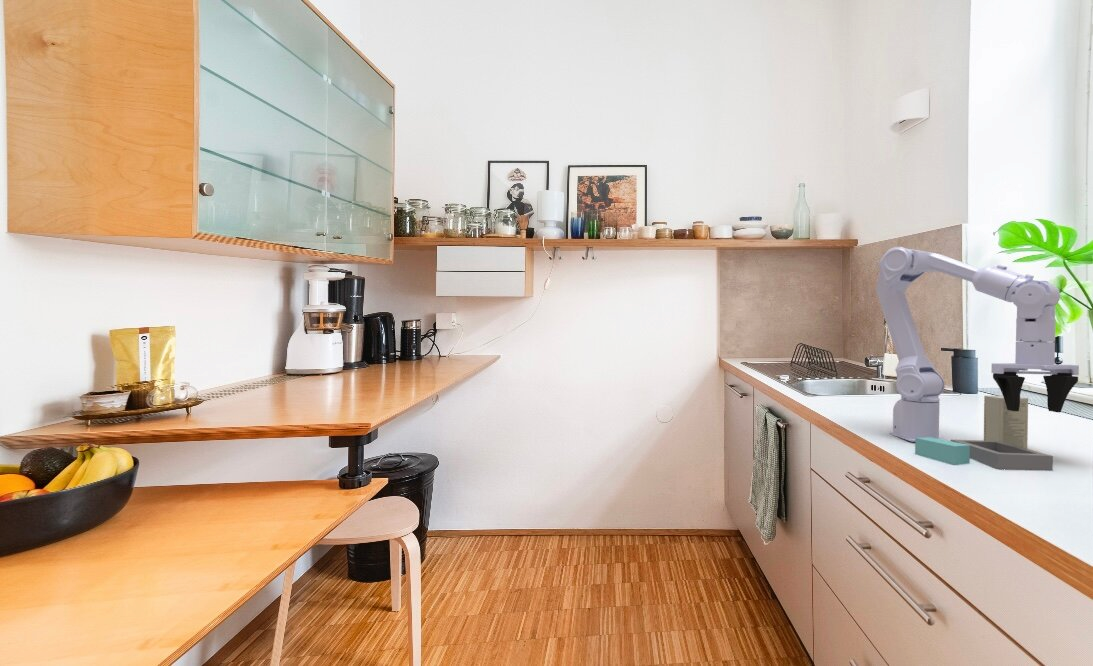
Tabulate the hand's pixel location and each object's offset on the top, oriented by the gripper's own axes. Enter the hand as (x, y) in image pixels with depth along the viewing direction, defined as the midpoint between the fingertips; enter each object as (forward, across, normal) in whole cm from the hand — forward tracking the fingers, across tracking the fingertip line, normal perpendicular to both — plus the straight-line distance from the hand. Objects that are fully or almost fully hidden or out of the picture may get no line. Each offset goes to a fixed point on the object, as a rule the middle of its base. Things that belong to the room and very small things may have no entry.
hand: (1033, 411), depth 106 cm
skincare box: (+11, +2, +10) cm, 15 cm away
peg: (+11, -16, +1) cm, 20 cm away
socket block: (+10, -6, 0) cm, 12 cm away
